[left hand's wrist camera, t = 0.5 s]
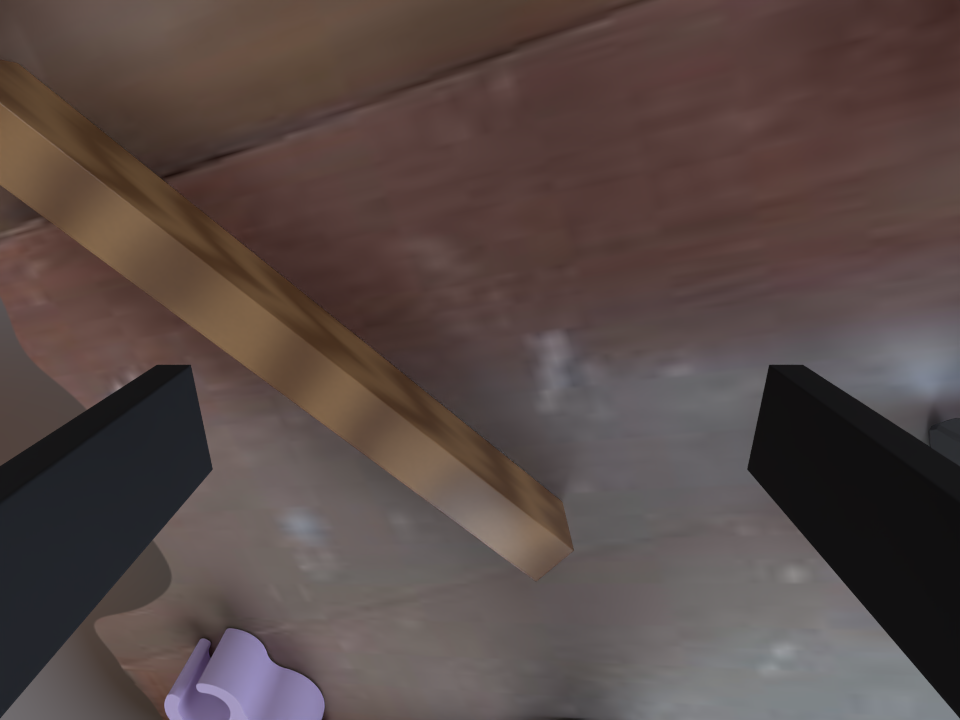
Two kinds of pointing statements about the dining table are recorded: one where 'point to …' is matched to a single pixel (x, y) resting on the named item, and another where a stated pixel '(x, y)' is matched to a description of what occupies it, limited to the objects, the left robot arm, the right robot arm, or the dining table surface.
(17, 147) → the bar
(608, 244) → the dining table surface
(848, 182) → the dining table surface
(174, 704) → the clip
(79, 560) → the left robot arm
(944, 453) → the handheld gaming console
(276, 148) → the dining table surface
